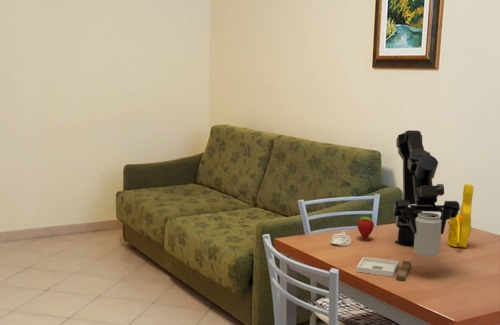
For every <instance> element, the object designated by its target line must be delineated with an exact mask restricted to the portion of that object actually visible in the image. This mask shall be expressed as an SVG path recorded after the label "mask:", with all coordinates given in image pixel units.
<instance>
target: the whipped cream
mask: <svg viewBox="0 0 500 325" xmlns="http://www.w3.org/2000/svg"><path fill="white" fill-rule="evenodd" d="M330 239H331V240H330V244H332V245H339V246H343V247H345V246H349V245H351V244H352V240H351V237H350V236H349V235H347V234H346V232H345V231H340V232H339V233H336V234H332V237H331V238H330Z"/></svg>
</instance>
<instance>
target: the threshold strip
mask: <svg viewBox="0 0 500 325" xmlns="http://www.w3.org/2000/svg"><path fill="white" fill-rule="evenodd" d="M411 266H412V261H411V260H403V261H402V263H401V264H400V267H399V270H398V272H397V274H396V276H395V281H401V282H405V281H406V279H407V276H408V274H409V271H410V269H411Z"/></svg>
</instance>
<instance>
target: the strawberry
mask: <svg viewBox="0 0 500 325" xmlns="http://www.w3.org/2000/svg"><path fill="white" fill-rule="evenodd" d="M373 220H374V218H372V217H369V216H363V217H361V216H360V217H359V218H358V221H357V224H356V225H357V229H358V231H359V234H360V236H361V238H362V239H363V240H364V239H365V240H367V239H368V237H369V236H370V235H371V234H372V232H373V231H374V228H375V227H374V226H375V224H374V221H373Z"/></svg>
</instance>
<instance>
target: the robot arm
mask: <svg viewBox="0 0 500 325" xmlns="http://www.w3.org/2000/svg"><path fill="white" fill-rule="evenodd" d="M424 147H425V146H424V145H423V135H422V133H421V131H419V130H406V131H404V132H402V133H400V134H398V135H397V137H396V148H397V154H398V155H399V156H400V158H401V159H402V199H396V200H395V201H394V204H393V208H392V212H393V216H394V217H395V226H396V228H398V231H397V240H395V241H394V243H396V244H399V245H402V246H405V247H406V246H407V247H412V246H414V236H415V233H416V226H415V219H416V218H417V217H418V214H419V213H440V215H439V216H440V217H439V218H440V219H441V220H442V225H441V235H443V234H444V232H445V227H446V225H447V224H446V223H447V221H449V220H450V218H455V217H457V214H458V213H460V208H461V205H460V203H459V202H458V201H457V200H444V202H443V205H442V204H441V205H440V204H436V203H437V202H438V197H439V196H440V197H442V196H444V195H445V186H444V184H443V183H437V184H436V185H434V184H433V179H434V178H435V176H436V175H435V174H436V173H437V168H438V166H439V162H438V160H437V158H436V157H434V156H433V155H431V152H430V151H427V150H425V148H424Z"/></svg>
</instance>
